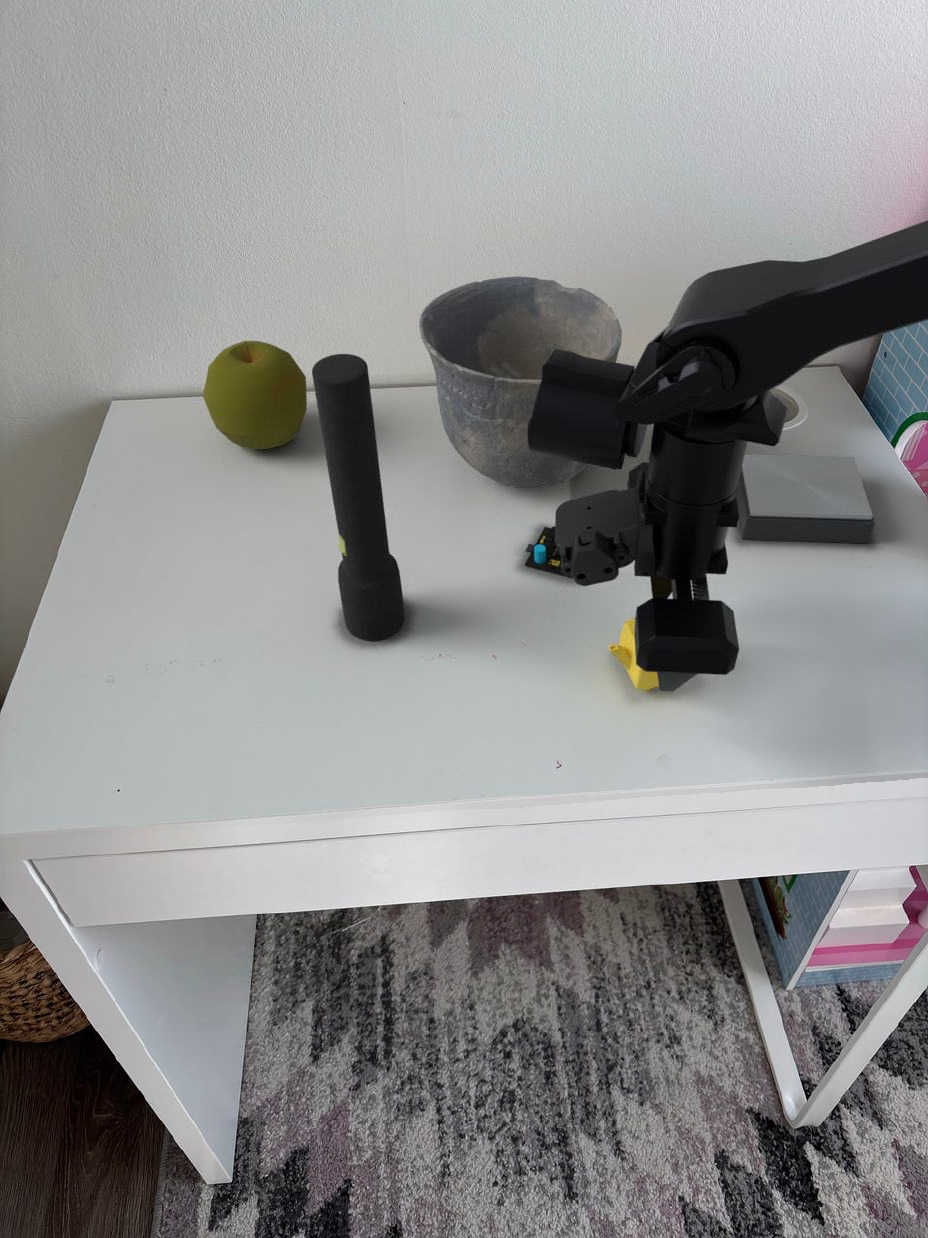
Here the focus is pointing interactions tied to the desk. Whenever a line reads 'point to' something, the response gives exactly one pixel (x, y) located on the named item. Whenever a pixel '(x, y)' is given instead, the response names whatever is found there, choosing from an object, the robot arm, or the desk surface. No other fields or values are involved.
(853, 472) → the scale
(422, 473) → the desk surface
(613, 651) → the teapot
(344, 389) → the flashlight
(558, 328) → the bowl
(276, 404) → the apple
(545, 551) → the circuit board
